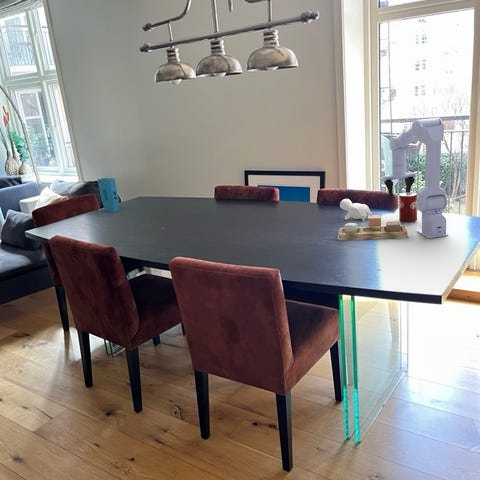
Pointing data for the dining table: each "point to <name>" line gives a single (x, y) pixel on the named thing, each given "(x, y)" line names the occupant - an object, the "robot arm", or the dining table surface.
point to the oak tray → (372, 233)
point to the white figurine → (355, 209)
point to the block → (108, 194)
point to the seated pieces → (389, 226)
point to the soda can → (408, 207)
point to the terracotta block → (374, 220)
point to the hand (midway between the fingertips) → (399, 195)
